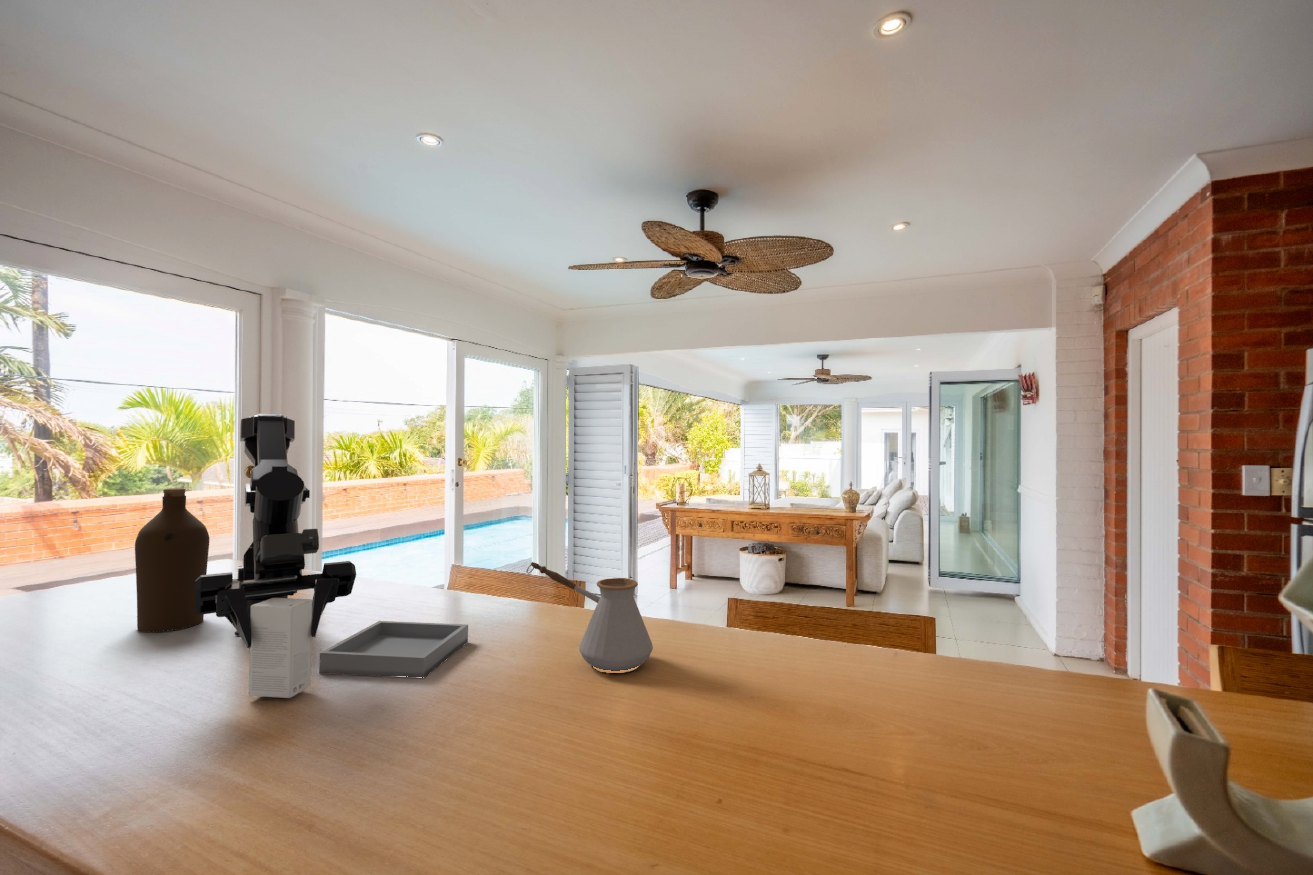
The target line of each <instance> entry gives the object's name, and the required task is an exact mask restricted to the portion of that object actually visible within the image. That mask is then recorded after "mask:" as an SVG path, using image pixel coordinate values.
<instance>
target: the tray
mask: <svg viewBox="0 0 1313 875" xmlns="http://www.w3.org/2000/svg"><path fill="white" fill-rule="evenodd" d="M467 643H469V624H465V623H463V624H461V623H441V622H440V623H439V622H436V623H435V622H420V621H419V622H417V621H416V622H415V621H394V620H393V621H391V620H378V621H376V622H374V623H372V624H371V625H369V626H367V627H365V628H363V629H361V630H360V631H358V632H355V633H354V634H352V635H351V636H349V637H346V638H345V639H342V640H341V641H339V642H337V643H335V644H333V645H331V646H329V647H328V648H326V649H324V650H322V651H320V652H319V657H318V658H319V662H318V663H319V665H318V674H326V675H327V674H328V675H346V676H367V677H368V676H369V677H382V676H406V677H407V676H408V677H422V678H423V677H425V676H426V677H427V676H429V675H430V674H431V673H432V672H434V671H435V670H436V669H437V668H439V667H440V666H441V665H442V664H443V663H444V662H445V660H446V659H447V660H448V659H449V658H450V657H452V656H453V655H454V654H455V653H457V652H458V651H459V650H460V649H461V648H463V647H464V646H465V645H467ZM464 644H465V645H464ZM463 645H464V646H463ZM462 646H463V647H462ZM451 655H452V656H451ZM447 660H446V661H447ZM441 663H442V664H441ZM440 664H441V665H440ZM439 665H440V666H439ZM435 668H436V669H435ZM434 669H435V670H434ZM430 672H431V673H430ZM429 673H430V674H429ZM428 674H429V675H428ZM426 677H425V678H426Z"/></svg>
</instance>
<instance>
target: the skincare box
mask: <svg viewBox="0 0 1313 875" xmlns="http://www.w3.org/2000/svg"><path fill="white" fill-rule="evenodd" d="M312 600H313V598H312V599H311V598H289V597H288V598H271V599H268V600H265V601H262V602H259V603H256V604H253V605H251V607H250V628H251V648H249V669H248V673H249V674H248V696H250V697H265V698H284V699H291V698H293V697H295V696H296V695H298V694H299V693H301V692H303V691H305V690H306V689H307V688H310V686H311V684H312V639H313V638H312Z"/></svg>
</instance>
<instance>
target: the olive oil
mask: <svg viewBox="0 0 1313 875" xmlns="http://www.w3.org/2000/svg"><path fill="white" fill-rule="evenodd" d="M186 491H187V490H186V488H184V487H183V488H182V487H172V488H171V487H169V488H163V492H162V493H163V496H162V501H161V502H162V509H160V511H159V512H158V513H157V514H156V515H155V516H153V518H152V519H150V520H149V521H148V522H147V523H146V524H145V525H144V526H143V527H141V528H140V530H139V531H138V534H137V535H136V538H135V542H134V555H135V556H134V557H135V560H134V562H135V577H136V578H135V581H136V582H135V583H136V584H135V585H136V610H137V611H136V613H137V614H136V615H137V616H136V619H137V620H136V621H137V622H136V623H137V625H136V626H137V631H139V632H141V633H163V632H165V633H166V632H173V631H174V632H175V631H179V630H183V629H187V628H192V627H194V626H198V625H200V624H201V623H202V622H204V615H205V614H203V615H199V614H196V613H195V580H196V579H197V578H199V577H200V576H201V575H208V574H207V571H208V559H209V549H210V535H209V534H210V533H209V532H208V529H207V526H206V525H205V524H204V523H203V522H202V521H201V520H199V519H198V518H197V517H196V516H195V515H194V514H192V513H191V512H190V511H189V510H188V509H187V508H186V506H187V505H186V504H187V495H186Z"/></svg>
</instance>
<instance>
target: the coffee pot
mask: <svg viewBox="0 0 1313 875" xmlns="http://www.w3.org/2000/svg"><path fill="white" fill-rule="evenodd" d="M531 567H532V568H531ZM530 568H531V570H530V571H529V569H530ZM534 570H538V571H539V572H540V574H545V575H546V576H547V577H549V578H550V580H552V581H554V582H557V583H558V584H561V585H562V586H565V587H567V588H569V589H570V590H571V589H572V590H573V591H576V592H577V593H579V594H581V595H583V596H584V597H586V598H588V599H590V600H591V601H594V602H595V603H597V604H596V606H595V608H594V610H593V614H592V615H591V618H590V620H589V622H588V624H587V627H586V630H585V632H584V634H583V636H582V638H581V641H580V642H579V652H580V655H581V656H582V658H583V659H584V661H585V662H586V663H587V664H588V665H590V666H591V665H592V666H594V667H596V668H599V669H603V670H611V671H620V670H628V669H631V668H635V667H637V666H639V665H640V666H642V664H644V663H646V661H647V660H648V659H649V658H650V656H651V653H652V652H653V650H654V646H653V643H652V640H651V638H650V637H651V636H650V634H649V633H648V630H647V628H646V625H645V622H644V619H643V617H642V614H641V612H640V610H639V607H638V604H637V602H636V600H635V597H634V594H635V589H636V588H637V586H638V582H637V581H636V580H634V579H630V578H626V577H615V578H614V577H613V578H612V577H611V578H603V579H601V580H598V581H597V582H596V586H597V587H598V589H599V592H600V596H599V595H596V594H594V593H592V592H591V591H588V590H586V589H585V588H582V587H581V586H578V585H577V584H576V583H574V582H573V581H571V580H569V579H568V578H567V577H565V576H563V575H561V574H560V573H558V572H556V571H552V570H551V569H547V567H546V566H545V565H542V566H541V565H540V564H539V563H537V562H534V561H532V562H531V563H530V564H529V565H528V567H527V569H526V573H527V574H531V573H533V571H534Z"/></svg>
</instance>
